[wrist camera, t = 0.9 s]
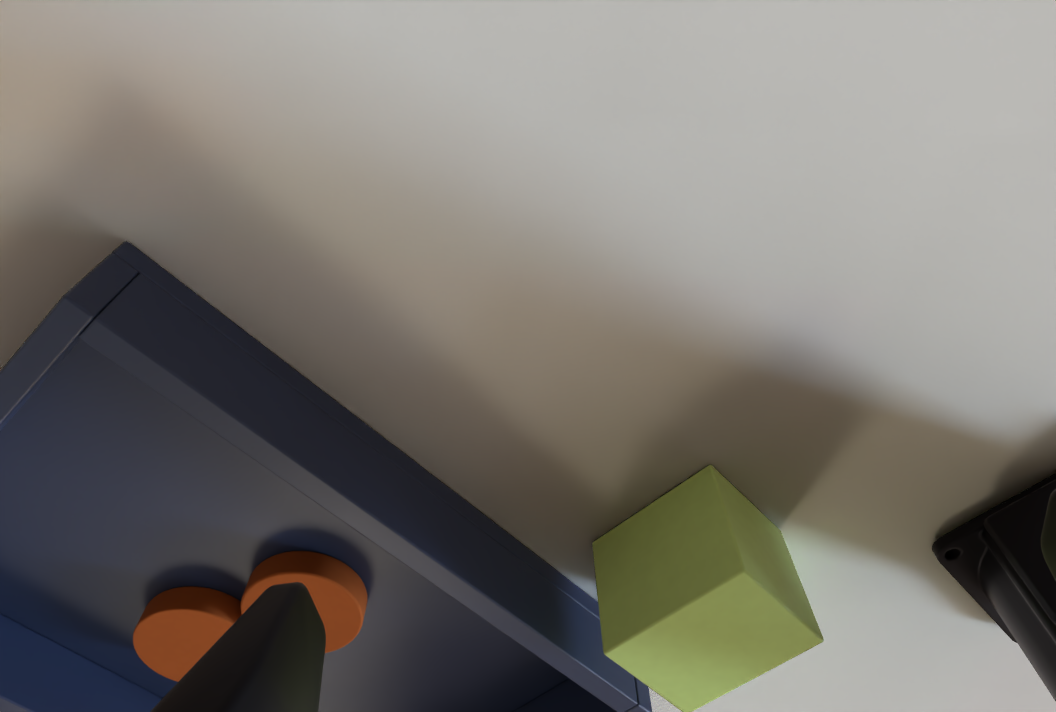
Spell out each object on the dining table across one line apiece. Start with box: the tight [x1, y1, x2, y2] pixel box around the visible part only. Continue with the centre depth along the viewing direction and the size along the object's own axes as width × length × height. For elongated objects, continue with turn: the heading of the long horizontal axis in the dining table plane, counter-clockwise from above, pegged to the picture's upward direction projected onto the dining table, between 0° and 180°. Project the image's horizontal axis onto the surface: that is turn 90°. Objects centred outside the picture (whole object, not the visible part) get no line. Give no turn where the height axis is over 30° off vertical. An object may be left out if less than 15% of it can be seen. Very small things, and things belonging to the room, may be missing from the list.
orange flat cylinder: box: [241, 551, 367, 653], centre depth 26 cm, size 4×4×1 cm
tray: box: [0, 241, 652, 712], centre depth 26 cm, size 22×16×3 cm
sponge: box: [592, 465, 824, 712], centre depth 24 cm, size 4×5×4 cm
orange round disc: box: [133, 586, 242, 682], centre depth 27 cm, size 4×4×1 cm
